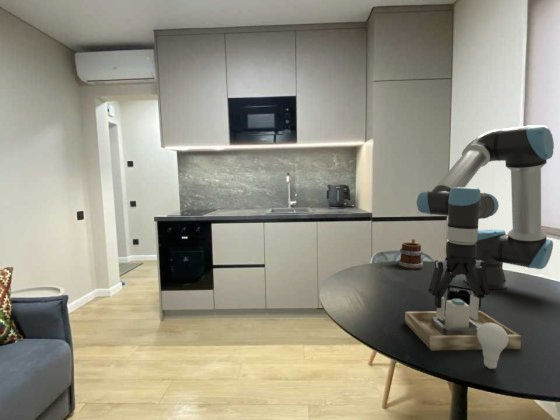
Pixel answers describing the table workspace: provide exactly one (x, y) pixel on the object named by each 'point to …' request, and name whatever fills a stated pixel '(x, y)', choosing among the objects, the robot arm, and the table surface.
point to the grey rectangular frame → (445, 331)
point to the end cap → (459, 293)
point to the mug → (411, 256)
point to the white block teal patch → (457, 314)
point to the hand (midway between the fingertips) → (456, 318)
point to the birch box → (437, 341)
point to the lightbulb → (492, 342)
